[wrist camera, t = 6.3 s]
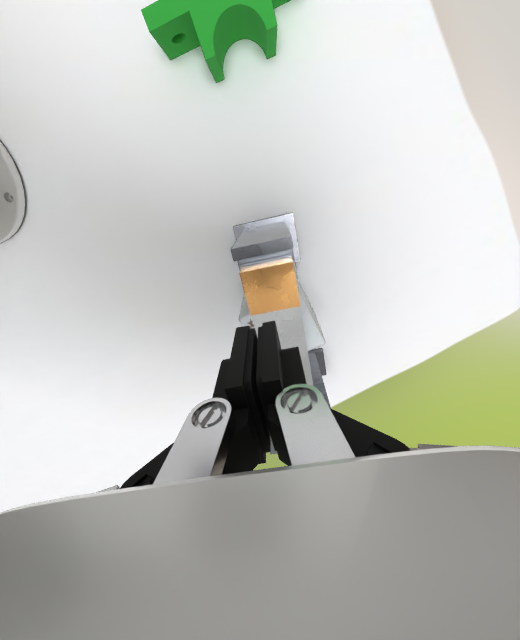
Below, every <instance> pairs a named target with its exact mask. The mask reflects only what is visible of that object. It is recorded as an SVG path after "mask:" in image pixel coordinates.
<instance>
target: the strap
mask: <svg viewBox="0 0 520 640" xmlns="http://www.w3.org/2000/svg"><path fill="white" fill-rule="evenodd" d="M240 277H241V280H242V284H243V288H244V292H245V296H246V300H247V304H248V308H249V311H250V315H251V316H252V318H253V322H254V326H255V330H256V334H257V337H258V327H261V326H262V323H264V322H269V321H275V322H276V326H277V331H278V336H279V340H280V345H281V349H287V348H292V347H299V352H300V356H301V361H302V365H303V370H304V374H305V378H306V383H307V384H308V385H311V386H313V380H312V374H311V368H310V362H309V356H308V350H307V344H306V338H305V332H304V326H303V320H302V314H301V308H300V300H299V294H298V288H297V282H296V276H295V270H294V264H293V260H292V256H291V254H290V255H285V256H280V257H276V258H271V259H266V260H261V261H257V262H252V263H247V264H243V265H241V266H240Z"/></svg>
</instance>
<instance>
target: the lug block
mask: <svg viewBox="0 0 520 640" xmlns="http://www.w3.org/2000/svg"><path fill="white" fill-rule="evenodd" d="M233 228H234V232H235V236H236V240H237V241H236V242H235V244H234V245H233V247H232V248H231V252H232V256H233V260H234V261H238V265H239V269H240V266H241V265H243V264H247V263H252V262H257V261H261V260H266V259H271V258H276V257H280V256H285V255H290V254H291V256H292V260H293V264H294V270H295V276H296V282H297V285H299V283H298V277H297V271H296V265H295V262H300V255H299V248H298V242H297V235H296V229H295V223H294V216H293V213H288V214H284V215H280V216H275V217H271V218H267V219H262V220H258V221H254V222H249V223H245V224H241V225H236V226H233Z"/></svg>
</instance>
